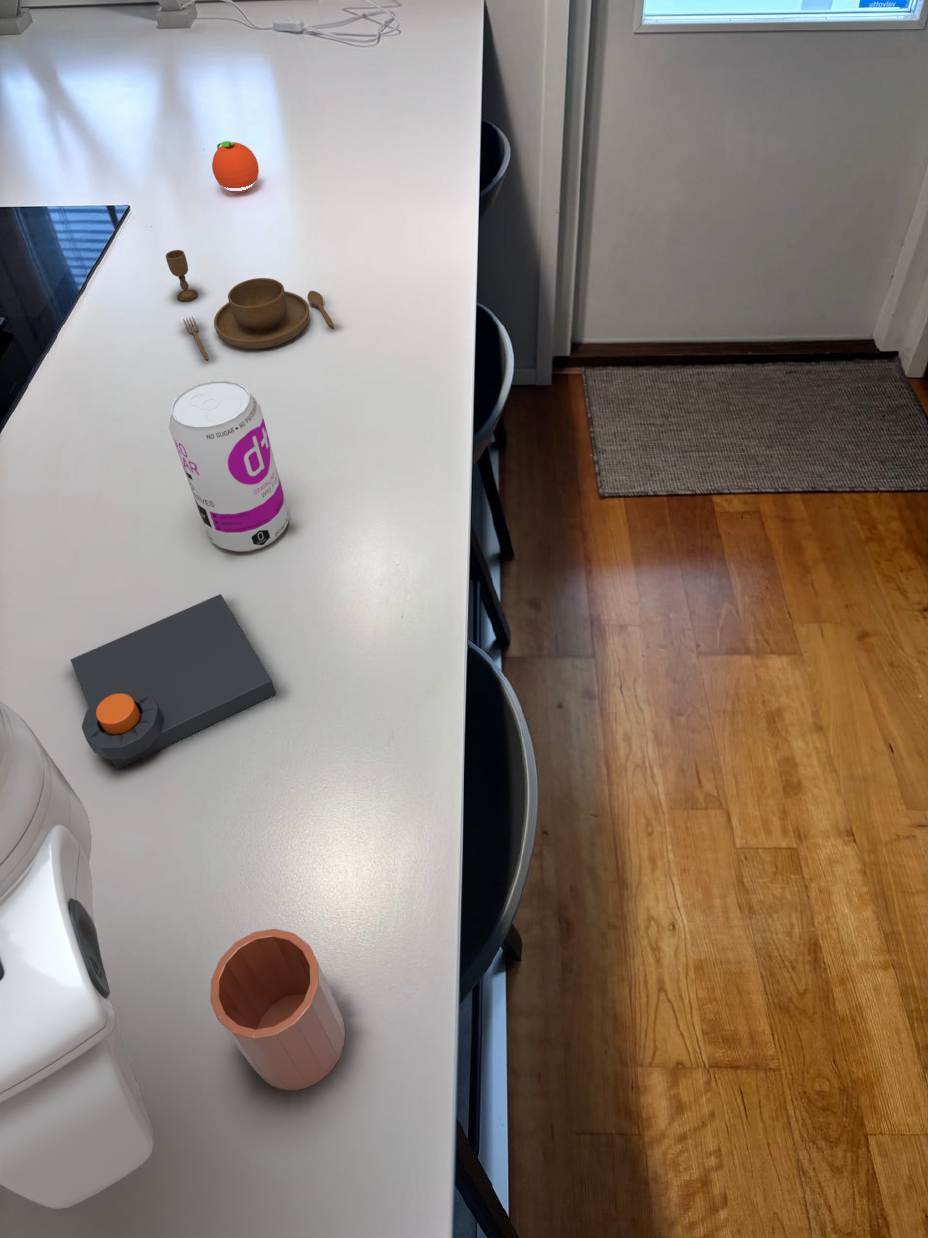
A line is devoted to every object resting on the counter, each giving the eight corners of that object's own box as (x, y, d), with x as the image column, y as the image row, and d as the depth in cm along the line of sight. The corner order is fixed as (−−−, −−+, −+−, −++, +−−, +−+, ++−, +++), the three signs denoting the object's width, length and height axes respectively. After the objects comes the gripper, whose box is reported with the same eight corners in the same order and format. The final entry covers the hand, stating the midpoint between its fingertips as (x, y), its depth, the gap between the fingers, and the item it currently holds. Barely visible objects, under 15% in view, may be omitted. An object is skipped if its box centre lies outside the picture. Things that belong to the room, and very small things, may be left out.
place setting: (206, 370, 114) (193, 327, 110) (170, 295, 127) (157, 253, 122) (343, 331, 118) (335, 287, 114) (295, 261, 131) (287, 220, 126)
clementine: (206, 189, 148) (193, 142, 142) (243, 174, 151) (232, 127, 145) (234, 204, 144) (222, 156, 138) (272, 188, 147) (261, 141, 141)
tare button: (108, 741, 75) (101, 729, 74) (98, 715, 77) (91, 703, 75) (145, 724, 76) (139, 712, 75) (133, 698, 77) (127, 687, 76)
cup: (272, 1110, 59) (233, 1060, 52) (236, 1023, 63) (194, 964, 55) (361, 1055, 61) (336, 999, 53) (320, 974, 65) (292, 910, 57)
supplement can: (306, 516, 96) (275, 390, 85) (253, 567, 91) (212, 442, 80) (246, 490, 99) (208, 366, 88) (191, 538, 95) (144, 414, 83)
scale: (109, 784, 76) (94, 760, 73) (67, 677, 84) (52, 652, 81) (280, 701, 80) (272, 676, 78) (225, 607, 88) (216, 581, 85)
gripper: (-178, 690, 38) (-26, 854, 49) (-103, 1187, 26) (78, 1265, 37) (-20, 626, 40) (94, 796, 51) (118, 1062, 28) (231, 1169, 38)
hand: (88, 996), depth 43 cm, fingers open, 8 cm apart
